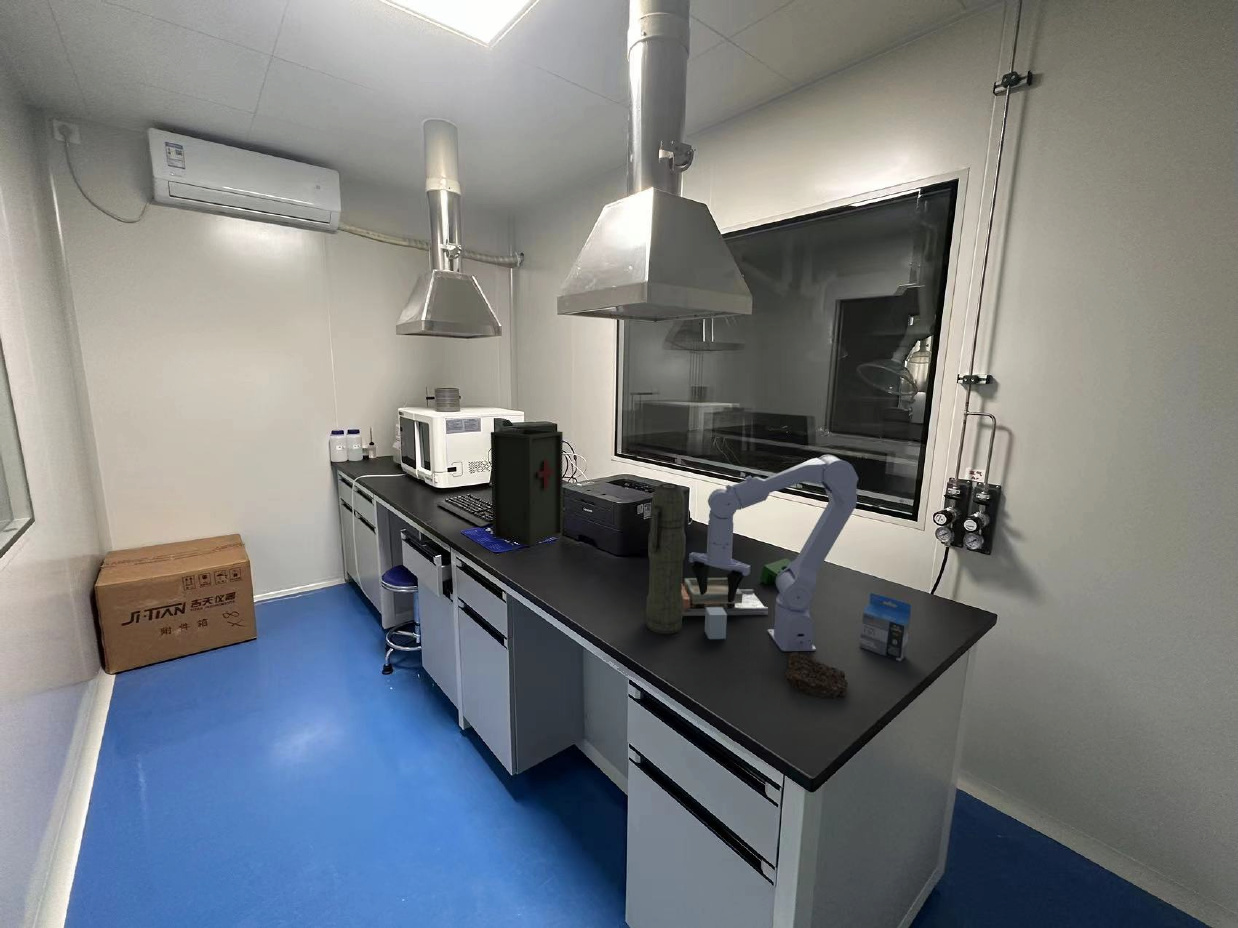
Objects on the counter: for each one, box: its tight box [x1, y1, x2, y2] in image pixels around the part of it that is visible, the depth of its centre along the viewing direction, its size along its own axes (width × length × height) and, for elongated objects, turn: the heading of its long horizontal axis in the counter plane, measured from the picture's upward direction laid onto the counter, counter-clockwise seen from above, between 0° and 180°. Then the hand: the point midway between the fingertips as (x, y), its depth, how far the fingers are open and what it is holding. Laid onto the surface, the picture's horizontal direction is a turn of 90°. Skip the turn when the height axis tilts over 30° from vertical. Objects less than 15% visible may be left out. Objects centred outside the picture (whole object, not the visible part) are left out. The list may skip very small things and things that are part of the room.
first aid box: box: [490, 428, 564, 548], centre depth 191 cm, size 18×18×40 cm
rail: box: [681, 583, 769, 617], centre depth 137 cm, size 12×22×4 cm, turn 94°
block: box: [704, 607, 728, 640], centre depth 121 cm, size 4×4×6 cm
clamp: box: [759, 557, 793, 585], centre depth 154 cm, size 12×6×9 cm, turn 122°
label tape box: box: [859, 592, 912, 662], centre depth 114 cm, size 9×4×12 cm, turn 45°
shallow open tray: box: [683, 577, 743, 608], centre depth 137 cm, size 11×13×4 cm
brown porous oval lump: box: [784, 651, 849, 698], centre depth 101 cm, size 12×10×5 cm
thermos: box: [645, 483, 687, 635], centre depth 123 cm, size 9×12×35 cm
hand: (716, 597), depth 120 cm, fingers open, 6 cm apart
